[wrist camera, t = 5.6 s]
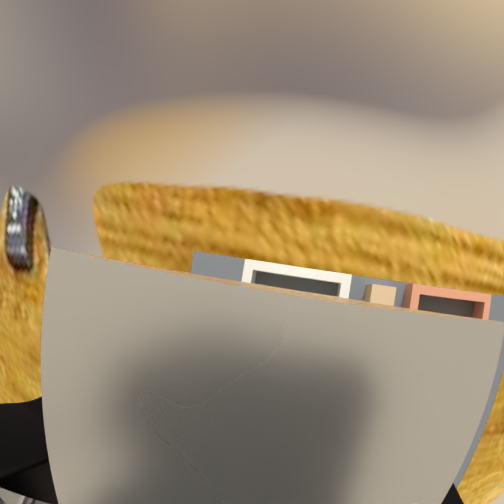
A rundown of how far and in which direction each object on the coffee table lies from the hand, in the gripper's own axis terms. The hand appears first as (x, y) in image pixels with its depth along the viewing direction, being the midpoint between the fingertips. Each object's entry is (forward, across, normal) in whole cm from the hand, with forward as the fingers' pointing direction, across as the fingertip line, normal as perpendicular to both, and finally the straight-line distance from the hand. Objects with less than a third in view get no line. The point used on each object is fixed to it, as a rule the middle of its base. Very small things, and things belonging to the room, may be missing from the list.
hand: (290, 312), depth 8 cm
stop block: (+4, 0, +6) cm, 7 cm away
